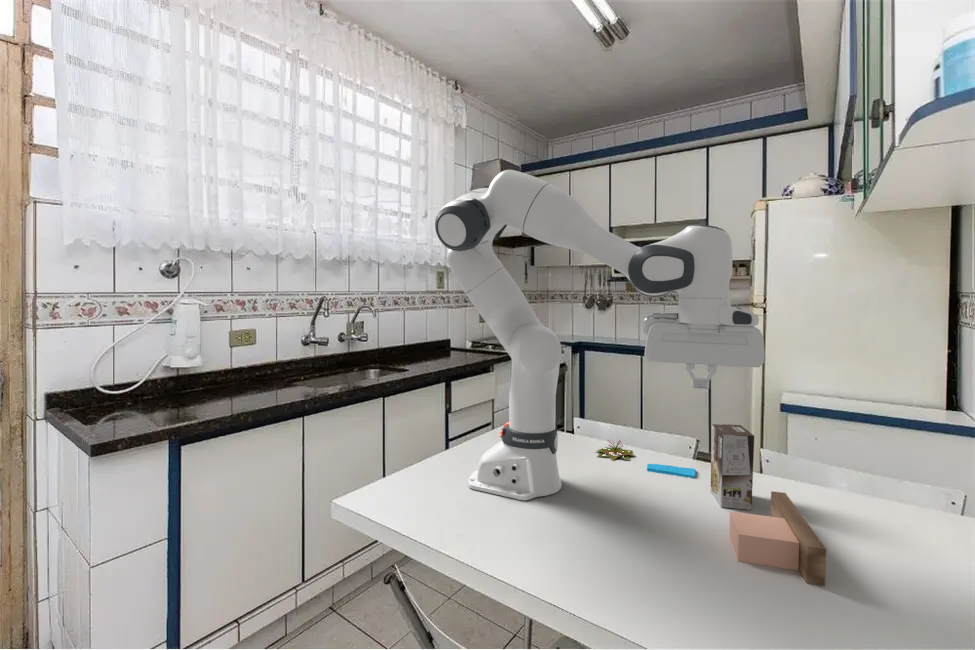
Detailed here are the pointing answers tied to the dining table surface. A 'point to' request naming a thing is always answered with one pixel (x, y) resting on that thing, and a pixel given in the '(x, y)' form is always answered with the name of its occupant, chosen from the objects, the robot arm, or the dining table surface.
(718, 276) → the robot arm
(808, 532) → the walnut board
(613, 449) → the lily flower
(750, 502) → the coffee box
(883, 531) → the dining table surface
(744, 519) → the terracotta block
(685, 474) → the sponge
